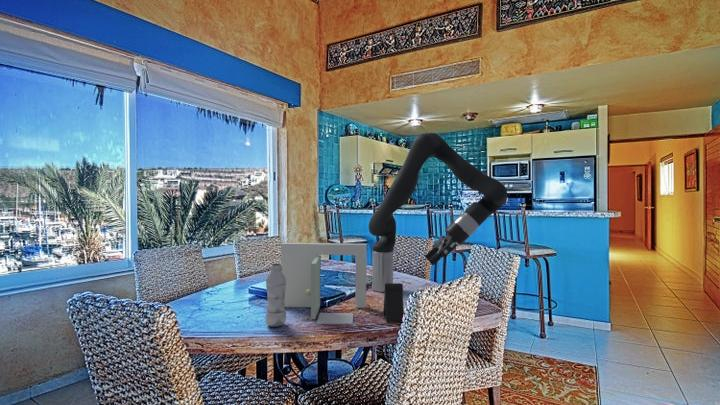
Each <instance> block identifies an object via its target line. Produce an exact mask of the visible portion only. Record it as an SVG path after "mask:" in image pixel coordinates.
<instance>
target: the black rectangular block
mask: <svg viewBox="0 0 720 405" xmlns="http://www.w3.org/2000/svg"><path fill="white" fill-rule="evenodd" d="M403 293H404V284H403V283H399V282H397V283H395V282H393V284H385V292H384V296H383V310H382V312H383V313H382V314H383V317H384V320H385V319H386V320H385V322H386V323H402V322H401V321H402V317H403V314H404V294H403ZM404 315H405V314H404ZM390 321H391V322H390Z"/></svg>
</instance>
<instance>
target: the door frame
mask: <svg viewBox="0 0 720 405" xmlns="http://www.w3.org/2000/svg"><path fill="white" fill-rule="evenodd" d="M367 245H368V244H367V243H333V242H331V243H327V242H326V243H323V242H322V243H320V242H319V243H317V242H316V243H315V242H308V243H307V242H281V244H280V264H282V273H283V274H284V276H285V277H286V280H287V282H286V289H285V297H284V298H285V300H284V301H285V308H310V320H316V319H317V320H316V325H354V312H353V313H351V312H344V313H343V312H320V313H319V310H320V308H321V290H322V288H321V287H322V286H321V282H322V280H321V279H322V278H321V274H322V272H321V270H322V269H321V268H322V266H321V265H322V263H321V262H322V260H321V258H322V256H323V255H324V256H325V255H326V256H330V255H331V256H355V288H354V290H355V291H354V292H355V295H354V296H355V299H354V300H355V302H354V304H355V305H354V306H355V309H366V308H367V257H368V256H367V252H368V251H367V248H368V246H367ZM317 315H318V317H317Z"/></svg>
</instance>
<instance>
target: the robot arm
mask: <svg viewBox="0 0 720 405" xmlns="http://www.w3.org/2000/svg"><path fill="white" fill-rule="evenodd" d="M409 148H410V149H409V150H408V152H407V153H408V154H407V155H406V158H405V160H404V162H403V164H402V166H401V167H400V169H399V171H398V173H397V175H396V177H395V178H394V180H393V181H392V183H391V185H390V187H389V188H388V191H387V193H386V195H385V196H384V198H383V199H382V201H381V203H380V205H379V206H378V207H377V209H376V210H375V212H374V213H373V214H372V216H371V217H370V219H369V222H368V232H369V234H371V235H372V236H375V237H380V238H379V240H377V241H376V242H375V243H374V244H372V267H371V268H372V271H371V273H372V274H371V275H372V276H371V279H372V280H371V284H372V285H371V289H372V291H375V292H380V293H385V284H393V283H394V249H395V248H394V247H395V246H396V235H397V221H396V218H395V217H394V216H393V214H394V213H395V212H397V211H398V210H399V209H400V208H401V207H403V206H404V205H405V204H406V203H408V201H409V200H410V199H411V197H412V195H413V193H414V192H415V191H416V188H417V185H418V181H419V180H418V179H419V173H420V171H421V169H422V168H423V166H424V164H425V162H427V160H428V159H429V158H436V159H437V160H439V161H440V162H442V163H444V164H445V165H446V166H447V167H448V168H449V170H450V171H451V172H452V174H453V175H454V177H455V178H457V180H459V181H460V182H462V184H464V185H465V186H467V187H468V188H469V189H470V190H472V191H475V192H476V191H477V192H479V193H480V194H481V195H483V196H482V198H481V199H479V200H478V201H475V202H473V203H472V204H471V205H469V206H468V207H467V209H465V210H464V211H463V212H462V213H460V214H459V215H458V216H457V217H456V218H455V219H454V220H453V221H452V222H451V223H450V224H449V225H448V226H447V227H446V228H445V233H446V234H447V235H446V236H445V235H442V236H441V237H440V238H439V239H438V240H437V241H436V242H435V243H434V244H432V246H431V249H430V250H429V251H428V252H427V253H426V254H425V255H424V258H426V260H427V261H428V263H430V264H431V265H432V266H435V265H436V264H437V263H438V262H439V261H440V260H441V259H445V258H446V257H448V255H449V254H450V253H451V252H452V251H454V249H455V248H457V246H458V245H459V246H462V245H463V244H464V242H466V241H467V240H468V239H469V238H470V237H471V236H472V235H473V234H474V233H475V232H476V231H477V229H478V228H479V227H480V226H481V225H482V224H483V223H484V222H485V221H486V220H487V219H488V218H489V217H490V216H491V215H493V214H494V213H495V212H497V211H498V210H500V208H502V207H503V205H504V204H505V203H506V202H507V199H508V189H507V187H506V186H505V185H504V184H503V183H502V182H500V181H499V180H497V179H496V178H493V177H491V176H489V175H487V174H486V173H484V172H483V171H481V170H480V169H478V168H477V167H476V166H474V165H473V164H471V163H470V162H469V161H467V160H466V159H465V158H464V157H462V156H461V154H460V153H457V152H456V151H455V149H453V148H452V147H451V146H450V144H448V143H447V142H446V141H445V140H444V139H443V138H442V137H441V136H440V135H439V134H437V133H435V132H427V133H421V134H419V135H417V136H416V137H415V138H414V140H413V142H412V143H411V146H410V147H409Z"/></svg>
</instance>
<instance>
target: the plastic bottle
mask: <svg viewBox="0 0 720 405" xmlns="http://www.w3.org/2000/svg"><path fill="white" fill-rule="evenodd" d="M269 268H270V269H269V271H270V273H269V274H268V275H267V277H266V280H265V287H266V293H267V295H266V296H267V305H266V313H265V317H264V318H265V324H266V325H267V326H269V327H272V328H273V327H276V328H277V327H282V326H284V325H285V323H286V321H287V312H286V307H285V301H284V300H285V298H284V297H285V289H286V282H287V280H286V277H285V276H284V274H283V273H282V264H281V263H271V264H270V265H269Z"/></svg>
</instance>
